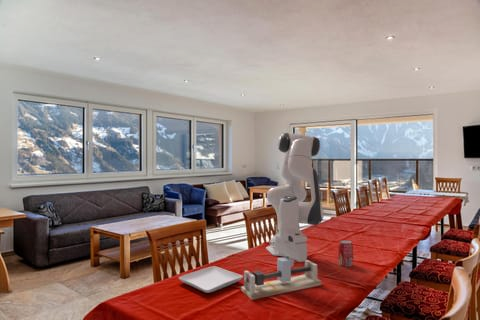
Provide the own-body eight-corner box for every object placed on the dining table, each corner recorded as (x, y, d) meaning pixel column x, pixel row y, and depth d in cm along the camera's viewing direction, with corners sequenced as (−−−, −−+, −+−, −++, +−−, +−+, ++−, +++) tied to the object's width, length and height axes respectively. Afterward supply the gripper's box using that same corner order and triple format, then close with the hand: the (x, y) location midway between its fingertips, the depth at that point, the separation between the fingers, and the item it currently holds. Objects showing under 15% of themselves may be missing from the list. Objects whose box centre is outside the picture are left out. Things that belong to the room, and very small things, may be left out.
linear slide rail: (241, 290, 137) (240, 270, 136) (308, 276, 150) (307, 258, 150) (251, 299, 127) (251, 278, 127) (321, 284, 141) (321, 265, 141)
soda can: (341, 261, 171) (341, 239, 171) (355, 264, 166) (355, 241, 166) (336, 265, 165) (336, 242, 165) (350, 268, 161) (349, 244, 161)
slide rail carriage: (277, 279, 140) (277, 258, 140) (285, 277, 142) (285, 257, 142) (282, 282, 136) (282, 261, 136) (290, 281, 138) (290, 260, 138)
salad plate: (177, 284, 145) (177, 276, 145) (213, 271, 160) (213, 264, 160) (207, 298, 130) (206, 290, 130) (244, 283, 145) (244, 275, 145)
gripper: (271, 229, 148) (271, 260, 148) (296, 240, 129) (297, 274, 130) (282, 228, 151) (283, 258, 151) (309, 238, 132) (310, 272, 132)
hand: (289, 266), depth 140 cm, fingers closed
